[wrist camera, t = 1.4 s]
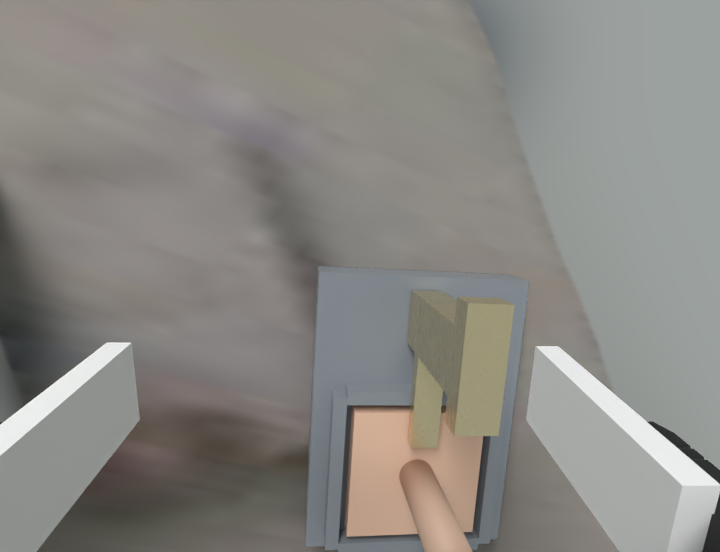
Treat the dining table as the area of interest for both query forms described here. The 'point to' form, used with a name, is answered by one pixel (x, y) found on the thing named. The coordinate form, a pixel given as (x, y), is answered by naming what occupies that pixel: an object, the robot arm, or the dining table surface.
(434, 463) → the cover
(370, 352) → the housing
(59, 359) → the dining table surface
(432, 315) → the key
